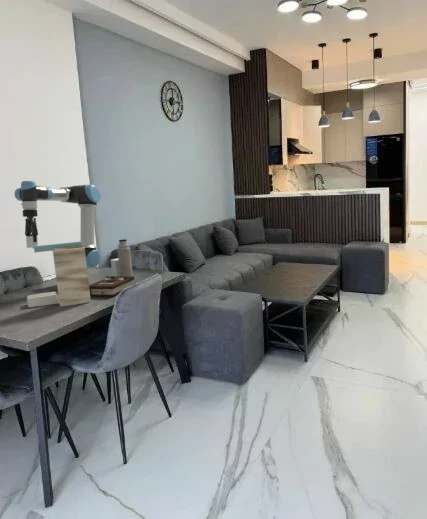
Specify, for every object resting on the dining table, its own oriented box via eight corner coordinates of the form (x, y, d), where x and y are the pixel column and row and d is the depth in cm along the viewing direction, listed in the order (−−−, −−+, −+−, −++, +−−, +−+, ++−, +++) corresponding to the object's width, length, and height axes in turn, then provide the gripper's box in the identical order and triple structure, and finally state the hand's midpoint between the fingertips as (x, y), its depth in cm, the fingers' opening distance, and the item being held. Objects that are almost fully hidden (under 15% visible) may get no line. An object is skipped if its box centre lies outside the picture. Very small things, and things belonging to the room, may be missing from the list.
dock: (28, 304, 244) (27, 295, 244) (57, 300, 250) (55, 291, 249) (28, 307, 237) (27, 298, 236) (57, 303, 242) (56, 294, 242)
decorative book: (82, 285, 250) (110, 274, 278) (84, 298, 251) (111, 286, 279) (112, 285, 244) (137, 274, 272) (113, 299, 245) (138, 286, 273)
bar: (34, 251, 232) (33, 246, 232) (81, 246, 241) (80, 241, 240) (34, 252, 230) (33, 246, 229) (82, 247, 238) (81, 241, 237)
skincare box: (122, 278, 298) (120, 257, 295) (128, 279, 294) (125, 257, 291) (112, 281, 292) (109, 259, 289) (117, 282, 288) (115, 260, 285)
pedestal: (59, 302, 244) (52, 247, 238) (89, 298, 249) (82, 244, 244) (60, 306, 234) (52, 249, 229) (90, 302, 240) (84, 245, 235)
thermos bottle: (124, 280, 290) (120, 238, 286) (135, 281, 288) (131, 238, 283) (118, 283, 283) (114, 240, 278) (129, 283, 280) (125, 240, 276)
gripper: (17, 210, 250) (20, 247, 252) (27, 208, 230) (30, 248, 232) (31, 210, 255) (34, 247, 256) (42, 208, 234) (44, 248, 236)
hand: (32, 248), depth 244 cm, fingers open, 13 cm apart
